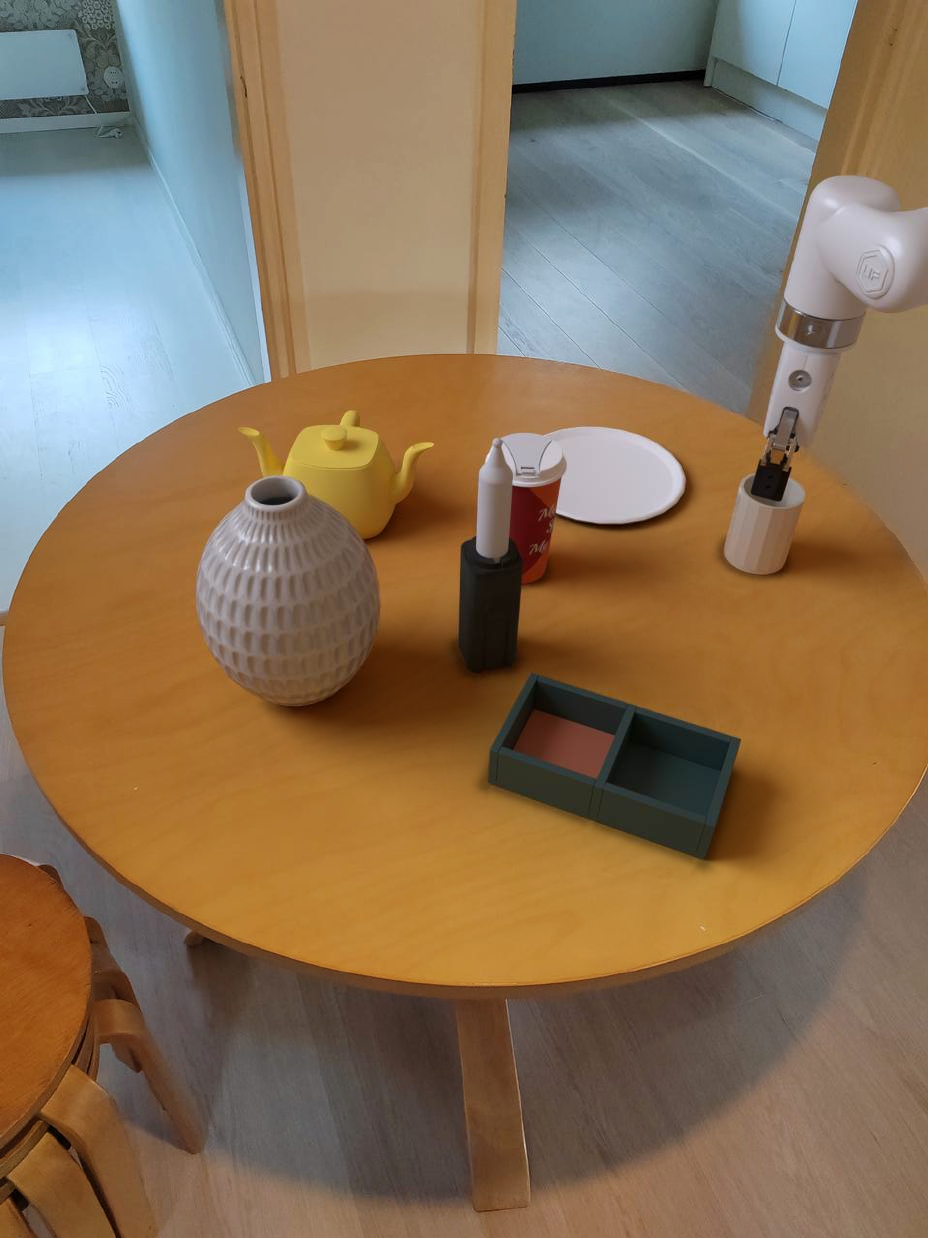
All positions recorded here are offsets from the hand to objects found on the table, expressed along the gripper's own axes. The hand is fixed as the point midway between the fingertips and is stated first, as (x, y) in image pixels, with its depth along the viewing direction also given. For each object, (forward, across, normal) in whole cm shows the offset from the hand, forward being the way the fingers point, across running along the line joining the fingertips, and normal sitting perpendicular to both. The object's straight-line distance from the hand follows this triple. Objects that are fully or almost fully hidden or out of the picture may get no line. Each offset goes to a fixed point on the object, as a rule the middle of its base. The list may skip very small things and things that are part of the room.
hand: (774, 471), depth 104 cm
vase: (+11, -38, +36) cm, 54 cm away
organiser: (+11, -37, +5) cm, 39 cm away
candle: (+11, -27, +21) cm, 36 cm away
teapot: (+12, -11, +46) cm, 49 cm away
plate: (+12, +7, +20) cm, 24 cm away
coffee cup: (+11, -13, +23) cm, 29 cm away
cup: (+11, 0, 0) cm, 11 cm away
